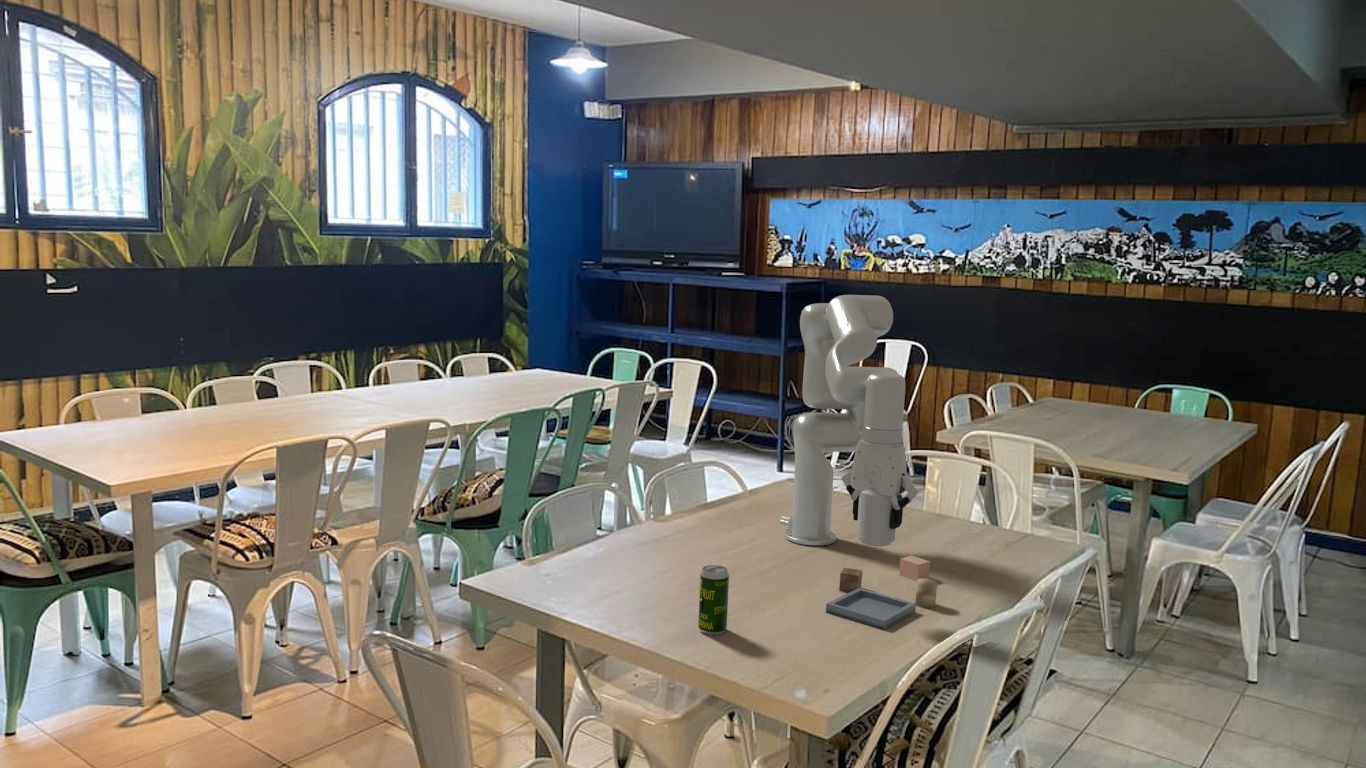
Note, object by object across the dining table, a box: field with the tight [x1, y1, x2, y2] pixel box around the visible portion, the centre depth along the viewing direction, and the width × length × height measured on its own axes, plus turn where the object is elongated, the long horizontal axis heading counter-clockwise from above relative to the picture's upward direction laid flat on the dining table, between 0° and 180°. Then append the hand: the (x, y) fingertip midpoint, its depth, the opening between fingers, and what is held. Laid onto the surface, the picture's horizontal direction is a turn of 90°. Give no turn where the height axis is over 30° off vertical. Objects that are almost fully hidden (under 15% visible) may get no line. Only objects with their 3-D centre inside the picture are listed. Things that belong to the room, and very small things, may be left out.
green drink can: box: [697, 564, 730, 636], centre depth 193 cm, size 5×5×12 cm
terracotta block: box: [898, 555, 931, 582], centre depth 229 cm, size 5×4×4 cm
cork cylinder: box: [915, 578, 938, 609], centre depth 212 cm, size 4×4×5 cm
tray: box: [825, 587, 917, 631], centre depth 206 cm, size 13×13×2 cm
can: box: [856, 486, 897, 547], centre depth 204 cm, size 8×8×12 cm
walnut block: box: [838, 567, 863, 593], centre depth 219 cm, size 4×4×4 cm
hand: (876, 522), depth 204 cm, fingers closed on can, 7 cm apart
